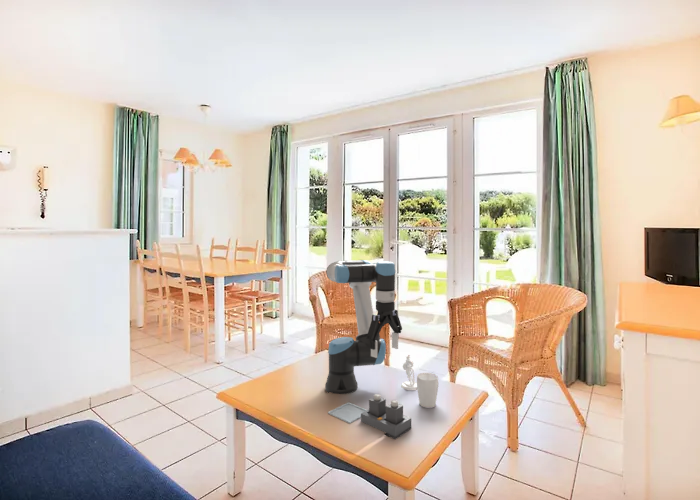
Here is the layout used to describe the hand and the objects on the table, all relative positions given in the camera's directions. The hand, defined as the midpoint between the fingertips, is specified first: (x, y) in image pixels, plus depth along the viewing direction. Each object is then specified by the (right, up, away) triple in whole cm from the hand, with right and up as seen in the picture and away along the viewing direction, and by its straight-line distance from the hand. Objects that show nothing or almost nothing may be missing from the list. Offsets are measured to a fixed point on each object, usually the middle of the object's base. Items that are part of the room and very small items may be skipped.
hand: (384, 352), depth 151 cm
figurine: (+14, -23, +26) cm, 38 cm away
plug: (+2, -24, -14) cm, 27 cm away
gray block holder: (-1, -25, -11) cm, 27 cm away
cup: (+19, -24, +7) cm, 31 cm away
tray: (-14, -24, -2) cm, 28 cm away
